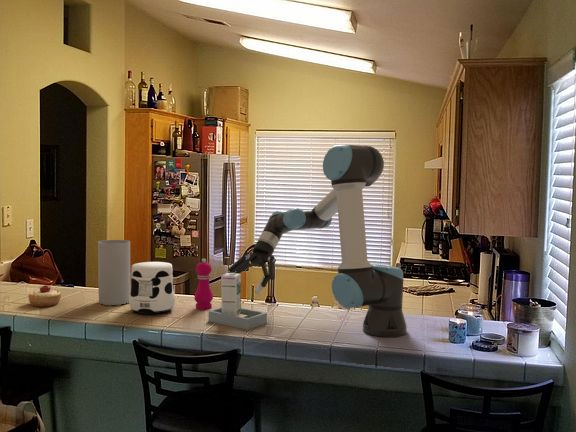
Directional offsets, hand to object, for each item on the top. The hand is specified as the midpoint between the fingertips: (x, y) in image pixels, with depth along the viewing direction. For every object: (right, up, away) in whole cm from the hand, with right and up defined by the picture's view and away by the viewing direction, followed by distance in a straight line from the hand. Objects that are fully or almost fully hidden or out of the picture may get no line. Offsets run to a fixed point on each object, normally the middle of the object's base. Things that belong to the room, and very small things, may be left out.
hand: (242, 291), depth 217 cm
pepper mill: (-16, -9, +16) cm, 25 cm away
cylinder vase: (-54, -8, +23) cm, 59 cm away
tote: (-1, -11, -6) cm, 13 cm away
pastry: (-80, -8, +19) cm, 83 cm away
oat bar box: (-2, -10, -6) cm, 12 cm away
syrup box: (-4, -8, -4) cm, 10 cm away
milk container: (-36, -9, +11) cm, 38 cm away
